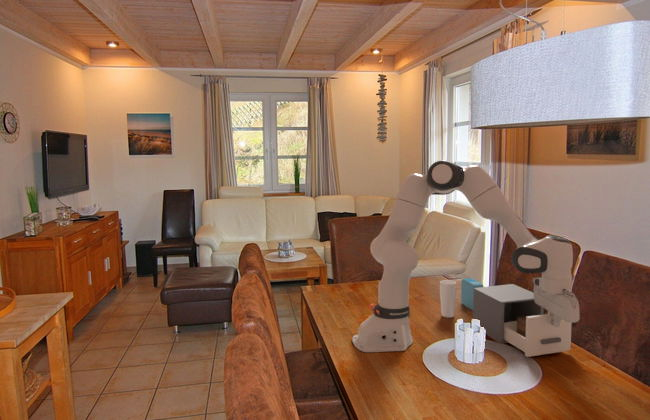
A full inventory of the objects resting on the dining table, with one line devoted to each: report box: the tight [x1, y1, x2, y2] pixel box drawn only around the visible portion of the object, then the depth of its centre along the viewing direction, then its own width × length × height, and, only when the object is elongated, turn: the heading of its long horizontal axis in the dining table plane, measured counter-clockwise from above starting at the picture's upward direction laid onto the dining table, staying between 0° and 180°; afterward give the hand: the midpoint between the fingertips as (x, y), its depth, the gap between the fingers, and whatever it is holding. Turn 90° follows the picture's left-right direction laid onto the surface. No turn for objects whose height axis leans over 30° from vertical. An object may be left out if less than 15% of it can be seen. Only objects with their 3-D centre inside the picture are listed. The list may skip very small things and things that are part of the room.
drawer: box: [503, 313, 573, 358], centre depth 161 cm, size 17×19×14 cm
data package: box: [460, 277, 485, 312], centre depth 204 cm, size 12×4×12 cm, turn 10°
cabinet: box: [472, 283, 545, 344], centre depth 176 cm, size 18×18×16 cm
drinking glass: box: [439, 279, 457, 319], centre depth 194 cm, size 7×7×15 cm
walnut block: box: [517, 316, 527, 337], centre depth 163 cm, size 4×10×7 cm, turn 14°
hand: (554, 325), depth 151 cm, fingers closed
